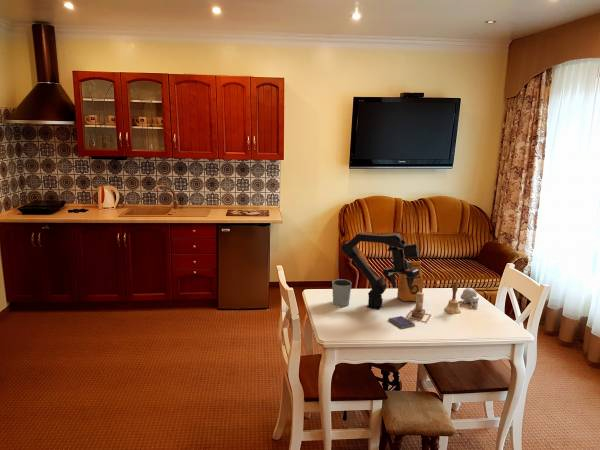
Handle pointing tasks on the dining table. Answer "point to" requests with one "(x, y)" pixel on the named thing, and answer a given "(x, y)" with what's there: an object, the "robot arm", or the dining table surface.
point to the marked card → (425, 319)
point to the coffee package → (417, 285)
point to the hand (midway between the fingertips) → (402, 288)
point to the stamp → (419, 307)
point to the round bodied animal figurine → (470, 297)
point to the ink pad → (401, 322)
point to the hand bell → (453, 301)
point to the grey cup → (341, 292)
